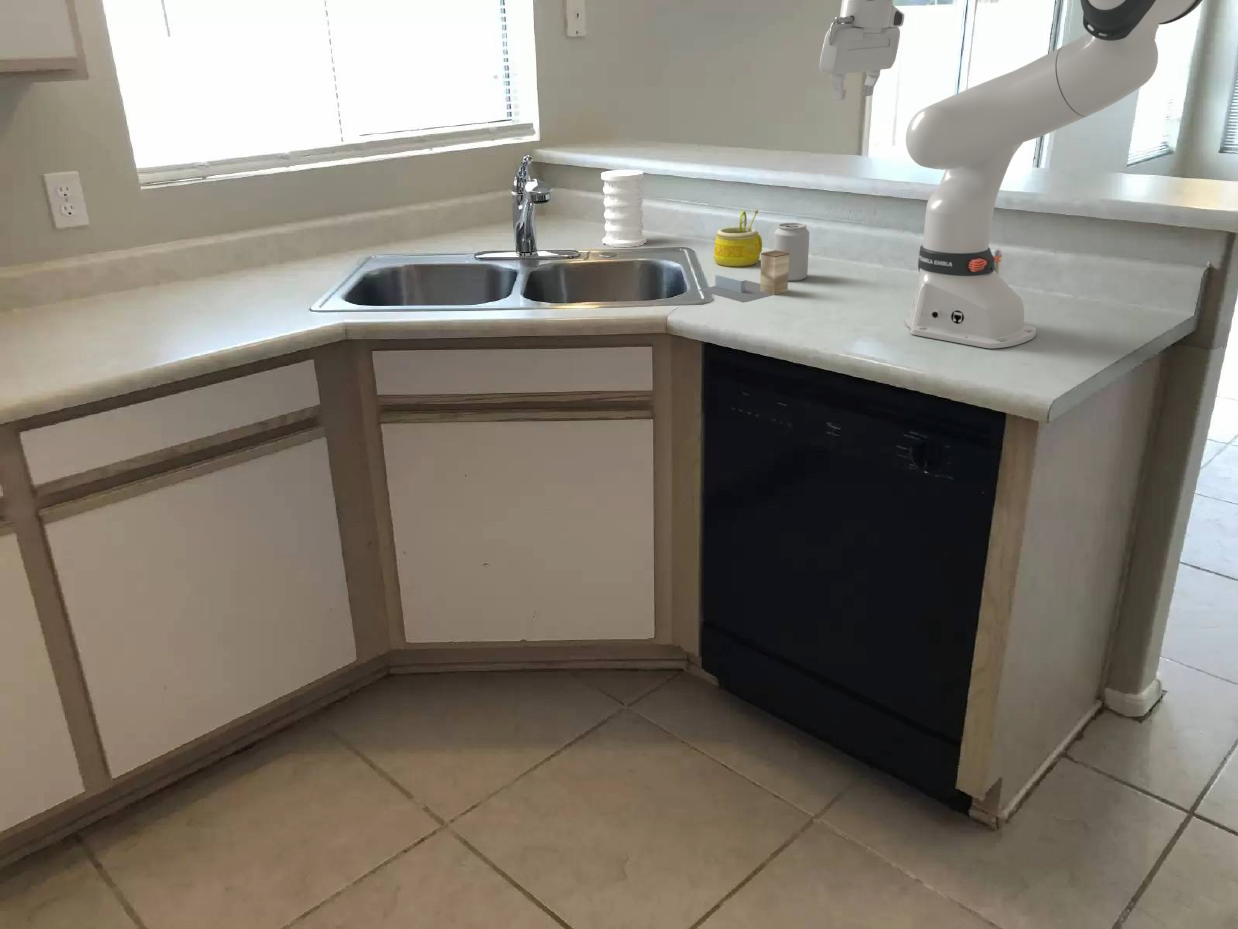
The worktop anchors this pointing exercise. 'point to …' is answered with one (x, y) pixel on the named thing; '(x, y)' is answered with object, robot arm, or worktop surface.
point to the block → (774, 272)
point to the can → (794, 248)
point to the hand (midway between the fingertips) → (852, 97)
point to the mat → (750, 292)
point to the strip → (730, 283)
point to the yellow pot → (738, 245)
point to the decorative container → (623, 207)
